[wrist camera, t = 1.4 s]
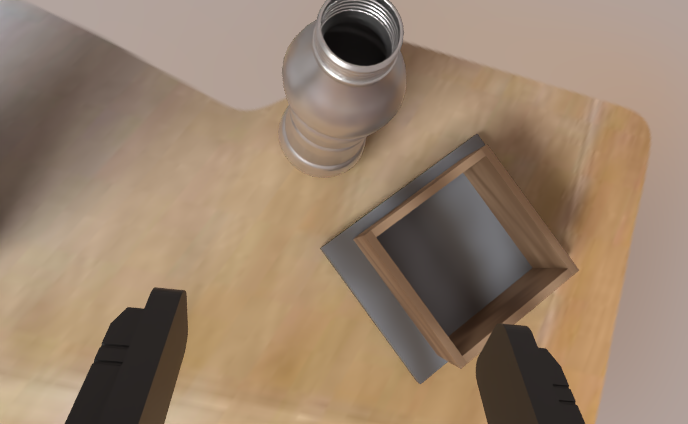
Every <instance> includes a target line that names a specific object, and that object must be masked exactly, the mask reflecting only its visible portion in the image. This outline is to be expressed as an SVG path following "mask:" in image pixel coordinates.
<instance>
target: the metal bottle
mask: <svg viewBox="0 0 688 424" xmlns="http://www.w3.org/2000/svg"><path fill="white" fill-rule="evenodd" d="M403 35H404V31H403V23H402V20H401V17H400V15H399V13H398V11H397V9H396V8H395V7H394V5H393V4H392V3H391V2H390V1H389V0H326V1H325V3H324V4H323V6H322V7H321V9H320V11H319V14H318V17H317V20H315V21H314V22H312V23H310V24H309V25H307V26H306V27H305V28H304V29H303V30H302V31H301V32H300V33H299V34H298V35H297V36H296V37H295V38H294V39H293V41H292V42H291V44H290V45H289V47H288V49H287V51H286V54H285V57H284V61H283V68H282V75H283V85H284V91H285V94H286V98H287V100H288V103H289V106H288V107H287V109H286V110H285V112H284V114H283V116H282V118H281V121H280V124H279V131H278V133H279V142H280V146H281V149H282V151H283V153H284V155H285V156H286V157H287V159H288V160H289V161H290V163H291V164H292V165H293V166H295V167H296V168H297V169H298V170H300V171H301V172H303V173H305V174H308V175H310V176H314V177H333V176H337V175H340V174H342V173H345V172H346V171H348V170H349V169H351V168H352V167H353V166H354V165H355V164H356V163H357V162H358V160H359V159H360V157H361V155H362V153H363V150H364V147H365V143H366V137H367V136H369V135H370V134H372V133H375V132H376V131H378V130H379V129H380V128H382V127H383V126H385V125H386V124H387V123H388V122H389V121H390V120H391V119H392V118H393V117H394V116H395V115H396V113H397V112H398V110H399V108H400V106H401V105H402V102H403V99H404V96H405V91H406V68H405V63H404V59H403V56H402V53H401V51H400V49H401V46H402V43H403Z"/></svg>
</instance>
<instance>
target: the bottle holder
mask: <svg viewBox="0 0 688 424" xmlns="http://www.w3.org/2000/svg"><path fill="white" fill-rule="evenodd" d="M320 249H321V250H322V252H323V253H324V254H325V256H326V257H327V259H328V260H329V261H330V263H331V264H332V265H333V267H334V268H335V270H336V271H337V272H338V274H339V275H340V276H341V278H342V279H343V281H344V282H345V283H346V285H347V286H348V287H349V289H350V290H351V292H352V293H353V294H354V296H355V297H356V298H357V300H358V301H359V303H360V304H361V305H362V307H363V308H364V309H365V311H366V312H367V314H368V315H369V316H370V318H371V319H372V321H373V322H374V323H375V325H376V326H377V327H378V329H379V330H380V332H381V333H382V334H383V336H384V337H385V338H386V340H387V341H388V343H389V344H390V345H391V347H392V348H393V349H394V351H395V352H396V354H397V355H398V356H399V358H400V359H401V360H402V362H403V363H404V365H405V366H406V367H407V369H408V370H409V371H410V373H411V374H412V376H413V377H414V378H415V380H416V381H417V382H418V383H420V384H421V383H423V382H424V381H425V380H426V379H427V378H429V377H430V376H431V375H432V374H434V373H435V372H436V371H437V370H438V369H440V368H441V367H442V366H443V365H444V364H446V363H447V362H450V363H452V364H453V365H455V366H457V367H459V368H460V369H461V368H463V367H464V366H465V365H466V364H467V363H469V362H470V361H471V360H472V359H473V358H475V357H476V356H477V355H478V354H479V353H481V351H482V349H483V347H484V345H485V344H486V342H487V340H488V338H489V336H490V334H491V332H492V331H493V329H494V327H495V326H496V325H497V324H499V323H501V324H511V325H514V324H515V323H516V322H518V321H519V320H520V319H521V318H522V317H524V316H525V315H526V314H527V313H528V312H530V311H531V310H532V309H533V308H534V307H536V306H537V305H538V304H539V303H540V302H542V301H543V300H544V299H545V298H546V297H548V296H549V295H550V294H551V293H552V292H554V291H555V290H556V289H557V288H558V287H560V286H561V285H562V284H563V283H564V282H566V281H567V280H568V279H569V278H570V277H572V276H573V275H574V274H575V273H576V272H578V271H579V269H578V268H577V266H576V265H575V264H574V262H573V261H572V260H571V258H570V257H569V256H568V254H567V253H566V251H565V250H564V249H563V247H562V246H561V245H560V243H559V242H558V240H557V239H556V238H555V236H554V235H553V234H552V232H551V231H550V229H549V228H548V227H547V225H546V224H545V223H544V221H543V220H542V219H541V217H540V216H539V214H538V213H537V212H536V210H535V209H534V208H533V206H532V205H531V203H530V202H529V201H528V199H527V198H526V197H525V195H524V194H523V192H522V191H521V190H520V188H519V187H518V186H517V184H516V183H515V182H514V180H513V179H512V177H511V176H510V175H509V173H508V172H507V171H506V169H505V168H504V166H503V165H502V164H501V162H500V161H499V160H498V158H497V157H496V155H495V154H494V153H493V151H492V150H491V149H490V147H489V146H488V145H485V144H484V142H483V141H482V140H481V138H480V137H479V135H478V134H476V135H474V136H473V137H471V138H470V139H469V140H467V141H466V142H465V143H463V144H462V145H461V146H459V147H458V148H456V149H455V150H454V151H452V152H451V153H450V154H448V155H447V156H446V157H444V158H443V159H441V160H440V161H439V162H437V163H436V164H435V165H433V166H432V167H430V168H429V169H428V170H426V171H425V172H424V173H422V174H421V175H420V176H418V177H417V178H415V179H414V180H413V181H411V182H410V183H409V184H407V185H406V186H405V187H403V188H402V189H400V190H399V191H398V192H396V193H395V194H394V195H392V196H391V197H390V198H388V199H387V200H385V201H384V202H383V203H381V204H380V205H379V206H377V207H376V208H375V209H373V210H372V211H370V212H369V213H368V214H366V215H365V216H364V217H362V218H361V219H360V220H358V221H357V222H355V223H354V224H353V225H351V226H350V227H349V228H347V229H346V230H345V231H343V232H342V233H340V234H339V235H338V236H336V237H335V238H334V239H332V240H331V241H330V242H328V243H327V244H325V245H324V246H323V247H321V248H320Z"/></svg>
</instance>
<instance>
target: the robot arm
mask: <svg viewBox="0 0 688 424" xmlns="http://www.w3.org/2000/svg"><path fill="white" fill-rule="evenodd" d="M187 335H188V320H187V296H186V291H185V290H175V289H165V288H156V287H155V288H153V290H152V291H151V294H150V296H149V298H148V301H147V303H146V306H145V308H144V309H141V308H130V307H127V308H126V309H125V310H124V311H123V312H122V313H121V314H120V315H119V316H118V317H117V318H116V319H115V320H114V321H113V322H112V323H111V324H110V326H109V328H108V331H107V333H106V335H105V337H104V339H103V342H102V346H101V347H100V348H99V350H98V352H97V355H96V357H95V359H94V363H93V364H92V366H91V368H90V370H89V372H88V374H87V376H86V379H85V381H84V383H83V385H82V387H81V390H80V392H79V394H78V396H77V398H76V400H75V403H74V405H73V407H72V409H71V411H70V414H69V416H68V418H67V420H66V422H65V424H164V422H165V419H166V415H167V412H168V408H169V405H170V401H171V398H172V394H173V391H174V388H175V384H176V381H177V377H178V374H179V370H180V367H181V363H182V360H183V357H184V353H185V348H186V343H187ZM476 379H477V384H478V388H479V391H480V395H481V399H482V403H483V407H484V411H485V414H486V418H487V422H488V424H585V422H584V420H583V418H582V415H581V413H580V410H579V408H578V406H577V405H575V399H574V396H573V394H572V392H571V389H569V388H568V387H569V385H568V382H567V380H566V378H565V375H564V373H563V371H562V368H561V366H560V365H559V364H558V362H557V361H556V360H555V359H554V358H553V356H552V355H551V354H550V353H549V352H548V350H547V349H545V348H538V347H537V344H536V342H535V339H534V336H533V334H532V332H531V330H530V329H529V328H528V327H527V326H521V325H511V324H501V323H499V324H497V325H496V326H495V327H494V329H493V331H492V332H491V334H490V336H489V338H488V340H487V342H486V344H485V345H484V347H483V349H482V351H481V353H480V355H479V357H478V359H477V363H476Z"/></svg>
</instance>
